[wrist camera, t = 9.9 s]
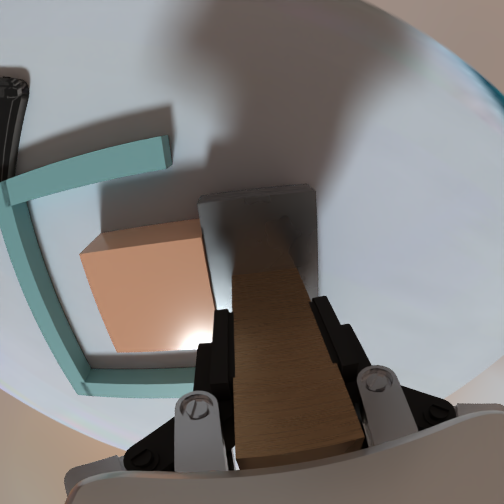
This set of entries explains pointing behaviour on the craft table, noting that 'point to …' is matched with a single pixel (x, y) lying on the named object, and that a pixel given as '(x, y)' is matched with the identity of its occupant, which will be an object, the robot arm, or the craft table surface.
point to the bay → (39, 284)
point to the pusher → (276, 327)
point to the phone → (11, 122)
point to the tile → (152, 286)
